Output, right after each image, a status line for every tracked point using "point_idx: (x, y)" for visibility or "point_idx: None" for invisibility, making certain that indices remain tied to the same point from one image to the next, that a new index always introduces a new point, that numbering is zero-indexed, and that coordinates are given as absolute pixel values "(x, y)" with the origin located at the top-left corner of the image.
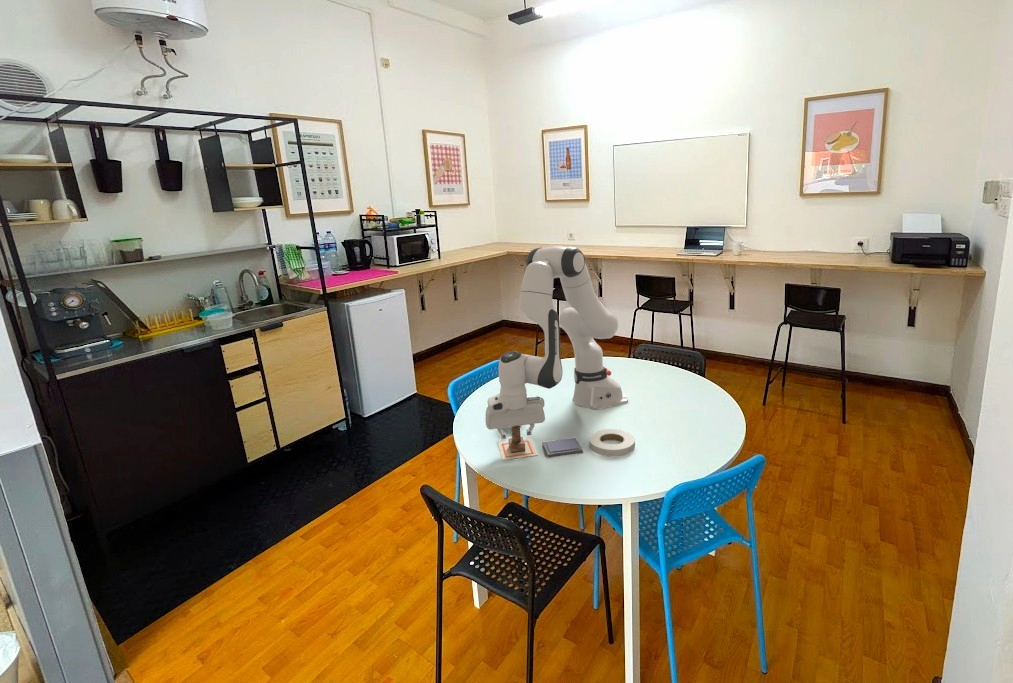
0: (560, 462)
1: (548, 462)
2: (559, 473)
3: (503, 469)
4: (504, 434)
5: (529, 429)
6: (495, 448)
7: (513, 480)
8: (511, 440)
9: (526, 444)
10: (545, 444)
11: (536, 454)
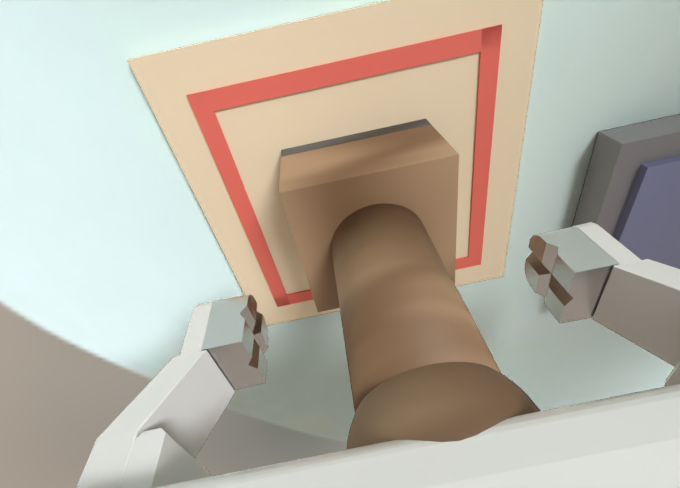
0: (594, 328)
1: (534, 330)
2: (543, 390)
3: (282, 385)
4: (249, 383)
5: (613, 300)
6: (145, 171)
7: (338, 432)
8: (321, 235)
9: (460, 120)
10: (625, 189)
11: (496, 271)
